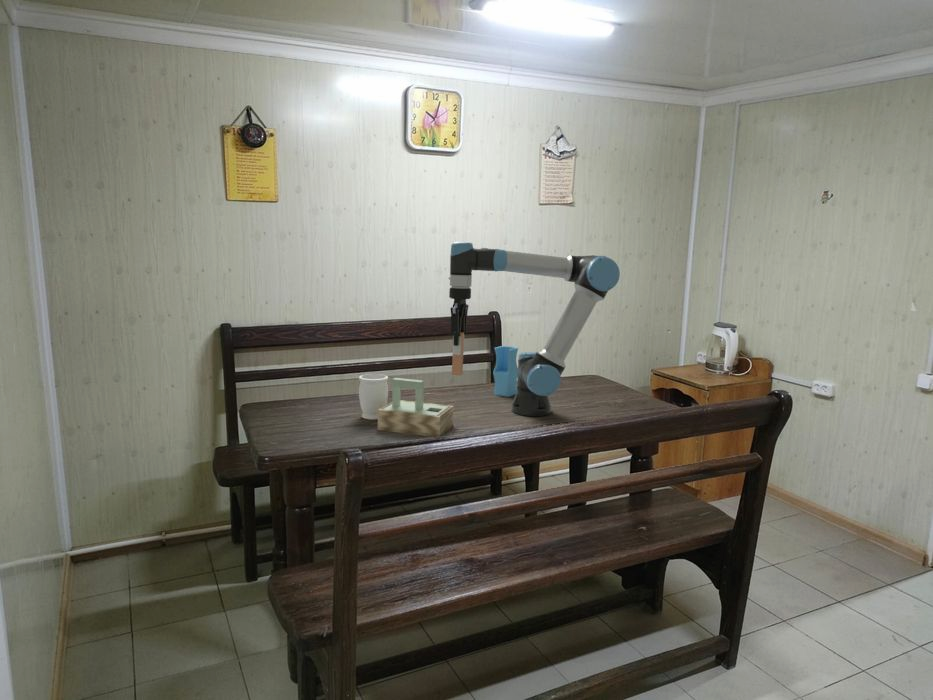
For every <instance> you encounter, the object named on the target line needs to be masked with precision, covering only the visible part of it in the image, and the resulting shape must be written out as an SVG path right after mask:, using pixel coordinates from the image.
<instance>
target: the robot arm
mask: <svg viewBox="0 0 933 700" xmlns="http://www.w3.org/2000/svg"><path fill="white" fill-rule="evenodd" d="M449 257H450V259H449V260H450V263H449V264H450V265H449V266H450V267H449V277H448V280H449V286H450V288H449V292H448V294H449V299H451V300H452V299H453V304H452V307H450V336H451V337H452V355H453V354H454V355H461V336H460V332H464V336H465V335H467V334H468V333H467V331H468V330H467V327H468V326H467V325H468V314H469V313H468V312H469V311H468V310H469V304H467V300H469V299H471V298H472V289H471V287H472V277H473V276H472V274H473V273H472V271H480V272H481V271H482V272H485V271H486V272H495V273H496V272H508V273H516V274H526V275H533V276H534V275H535V276H542V277H550V278H551V277H552V278H559V279H564V280H565V282H570V283H574V288H575V290H574V292H573V294H572V297H570V300H569V302H568V304H567V305H566V307H565V309H564V311H563V313H562V315H561V316H560V318H559V319H558V321H557V323H556V326H555V327H554V329H553V330H552V332H551V335H550V336H549V337H548V340H547V341H546V343H545V345H544V347H543V349H540V350H537V351H536V352H533V351H531V352H530V351H529V352H527V351H526V352H524V351H523V352H520V353H519V354H518V359H517V362H518V363H517V367H518V377H517V382H516V388H517V392H516V394H515V395H514V398H513V400H512V402H511V411H512V412H513V414H518V415H521V416H527V417H545V416H548V415H550V414H551V412H552V405H551V401H550V397H549V396H550V395H552V394H554V393H555V392H557V390H558V389H559V387H560V385H561V383H562V382H561V381H562V374H563V372H564V371H565V369H566V364H565V360H566V358H567V357H568V355H569V353H570V352H571V350H572V348H573V346H574V344H575V343H576V340H577V339H578V337H579V335H580V334H581V331H582V329H583V328H584V326H585V325H586V323H587V321H588V319H589V317H590V315H591V314H592V312H593V310H594V308H595V306H596V304H597V303H599V302H600V301H603V300H604V299H605V298H606V296H607V294H608V292H609V291H611V290H612V289H614V288H615V287H616V285H617V284H618V283H619V280H620V276H621V273H620V268H619V265H618V264H617V263H616V261H614V260H613V259H612V258H610V257H607V256H606V255H568V256H567V257H563V256H554V255H545V254H537V253H530V252H529V253H528V252H519V251H512V250H505V249H499V248H488V247H482V248H475V247H474V246H473V243H472V242H462V241H461V242H459V241H456V242H455V241H454V242H452V244H451V246H450V256H449ZM464 350H465V347H464V348H463V354H464V353H465V351H464Z"/></svg>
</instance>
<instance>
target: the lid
mask: <svg viewBox="0 0 933 700" xmlns="http://www.w3.org/2000/svg"><path fill="white" fill-rule="evenodd" d="M391 383H392V386H391V388H392V391H391V392H392V394H391V395H392V396H391V398H392V399H391V400H392V401H391V402H392V404H391V405H389V406H388V407H386V408H384V409H383V410H392V411H400V412H409V413H417V414H425V415H434V416H438V415H439V414H441V413H442V412H443V411H445V410H446V409H447V408H449V406H450V405H449V406H440V405H441V404H440V405H431V404H423V403H424V385H425V381H424V380H420V379H412V378H411V379H410V378H400V377H394V378H392V382H391ZM401 388H403V389H413V390H415V392H414V393H415V395H414V396H415V399H414V402H415V403H414V402H405V401H406V400H405V401H400V400H401V390H402V389H401ZM430 410H432V411H439V412H431V411H430Z"/></svg>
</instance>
